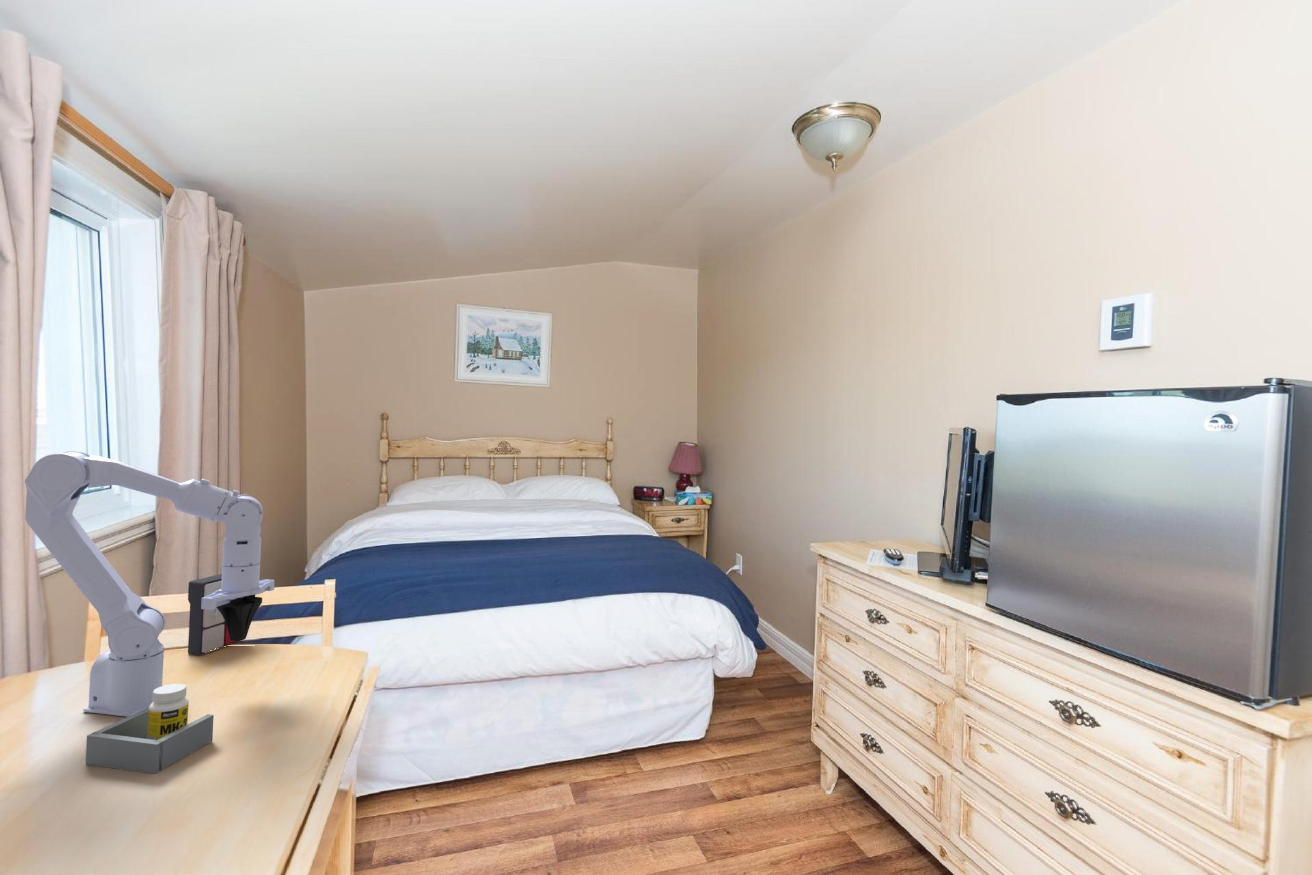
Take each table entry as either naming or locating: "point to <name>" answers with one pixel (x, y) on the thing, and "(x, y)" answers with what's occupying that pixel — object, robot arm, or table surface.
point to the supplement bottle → (167, 711)
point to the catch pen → (145, 744)
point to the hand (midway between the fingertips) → (238, 639)
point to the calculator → (205, 618)
